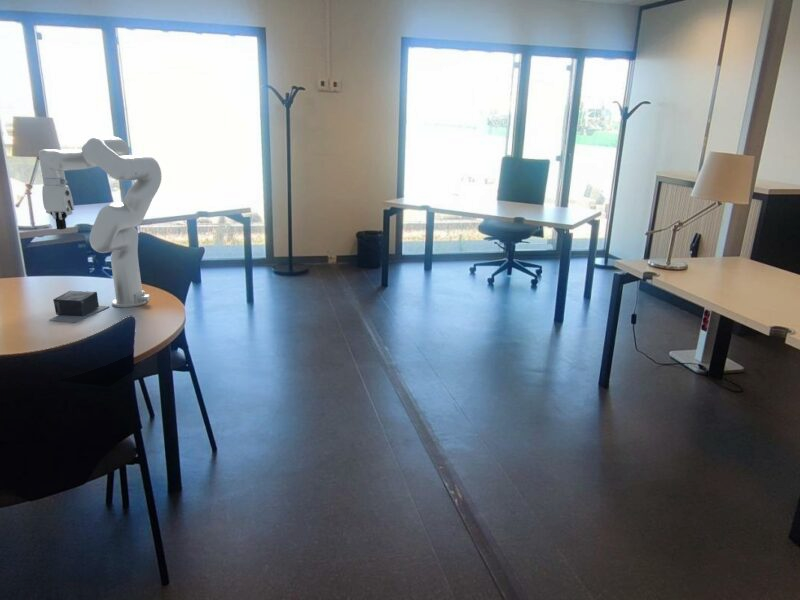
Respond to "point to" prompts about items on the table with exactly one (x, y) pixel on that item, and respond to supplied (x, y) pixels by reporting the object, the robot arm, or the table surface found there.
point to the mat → (77, 318)
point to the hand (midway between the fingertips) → (61, 228)
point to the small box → (76, 303)
